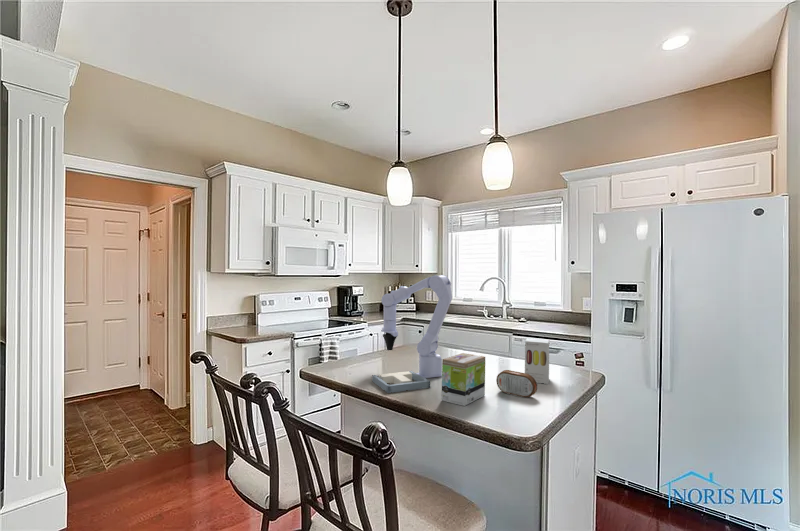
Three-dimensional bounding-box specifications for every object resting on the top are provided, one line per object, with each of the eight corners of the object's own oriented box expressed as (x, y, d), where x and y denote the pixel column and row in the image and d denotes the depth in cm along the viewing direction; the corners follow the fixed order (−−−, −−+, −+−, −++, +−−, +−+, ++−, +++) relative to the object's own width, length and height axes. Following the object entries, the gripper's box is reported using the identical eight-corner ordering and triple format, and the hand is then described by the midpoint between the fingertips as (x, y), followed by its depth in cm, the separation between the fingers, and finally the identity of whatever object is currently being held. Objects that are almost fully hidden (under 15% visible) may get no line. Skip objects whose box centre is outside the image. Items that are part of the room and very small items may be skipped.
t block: (408, 378, 168) (408, 371, 168) (421, 386, 157) (421, 379, 157) (379, 381, 163) (379, 374, 163) (391, 390, 151) (391, 382, 151)
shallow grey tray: (411, 376, 171) (411, 370, 171) (430, 387, 155) (430, 381, 155) (372, 381, 164) (372, 375, 164) (387, 393, 148) (387, 386, 148)
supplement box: (524, 381, 164) (524, 340, 164) (525, 376, 172) (526, 337, 173) (548, 384, 160) (548, 342, 160) (549, 378, 169) (549, 338, 169)
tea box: (466, 407, 134) (466, 362, 134) (440, 401, 140) (440, 358, 140) (485, 395, 146) (485, 355, 146) (461, 390, 152) (461, 351, 152)
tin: (537, 398, 143) (537, 374, 143) (534, 400, 141) (534, 376, 141) (498, 389, 153) (499, 367, 153) (495, 391, 151) (495, 369, 151)
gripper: (376, 318, 186) (375, 347, 186) (387, 322, 173) (387, 353, 173) (390, 317, 189) (389, 346, 189) (402, 321, 176) (402, 352, 176)
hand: (389, 349), depth 181 cm, fingers closed
